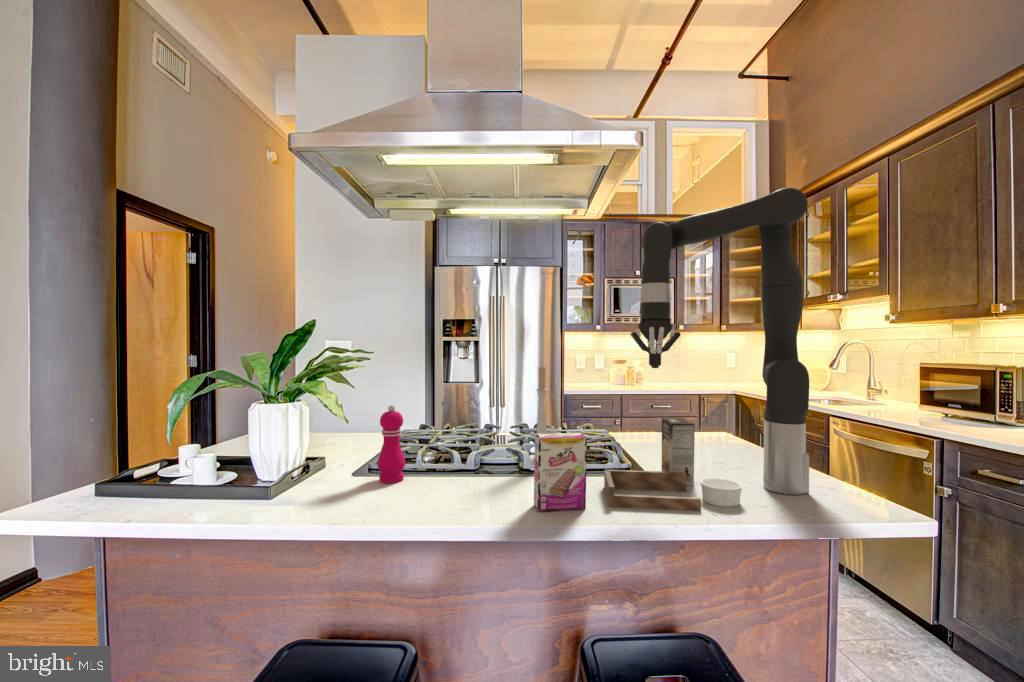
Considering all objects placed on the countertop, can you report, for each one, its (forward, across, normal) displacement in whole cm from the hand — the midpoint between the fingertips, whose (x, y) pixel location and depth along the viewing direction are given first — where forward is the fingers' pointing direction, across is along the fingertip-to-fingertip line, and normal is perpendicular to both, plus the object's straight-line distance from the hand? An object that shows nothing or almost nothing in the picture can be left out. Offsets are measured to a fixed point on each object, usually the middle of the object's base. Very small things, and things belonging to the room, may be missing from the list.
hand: (654, 367), depth 126 cm
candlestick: (+31, +30, -14) cm, 45 cm away
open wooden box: (+30, +3, +12) cm, 33 cm away
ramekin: (+31, -13, +12) cm, 35 cm away
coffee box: (+31, -7, -4) cm, 32 cm away
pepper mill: (+31, +69, +4) cm, 76 cm away
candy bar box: (+31, +24, +20) cm, 44 cm away
